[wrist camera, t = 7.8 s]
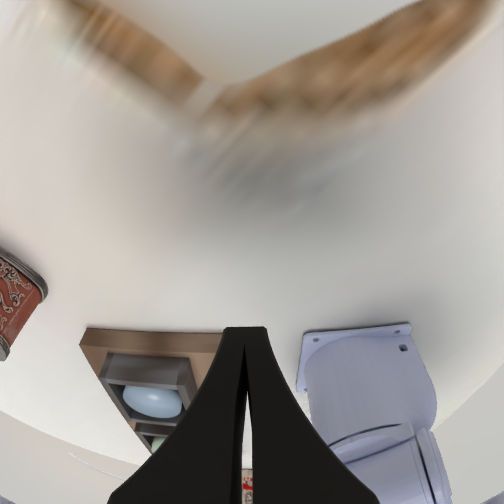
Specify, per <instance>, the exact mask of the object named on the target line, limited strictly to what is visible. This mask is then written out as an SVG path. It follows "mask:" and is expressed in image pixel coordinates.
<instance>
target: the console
mask: <svg viewBox="0 0 504 504" xmlns="http://www.w3.org/2000/svg"><path fill="white" fill-rule="evenodd" d="M222 335H223V333H163V332H138V331H120V330H105V329H92V328H87V329H86V331H85V333H84V335H83V337H82V339H81V341H80V343H79V346H80V348H81V349H82V351H83V353H84V355H85V357H86V358H87V360H88V362H89V364H90V365H91V367H92V369H93V371H94V372H95V374H96V376H97V377H98V379H99V380H100V382H101V384H102V385H103V387H104V389H105V390H106V392H107V393H108V395H109V396H110V398H111V399H112V401H113V402H114V404H115V405H116V407H117V408H118V410H119V411H120V413H121V414H122V416H123V417H124V418H125V420H126V421H127V423H128V424H129V425H130V427H131V428H132V429H133V431H134V432H135V434H136V435H137V436H138V437H139V439H140V440H141V441H142V443H143V444H144V445H145V447H146V448H147V449H148V450H149V452H150V453H151V454H153V453H152V451H151V448H152V443H153V437H154V436H158V437H167V436H168V435H169V434H170V432H171V431H172V430H173V429H174V427H175V426H176V425H177V423H178V422H179V420H180V419H181V417H182V416H183V414H184V413H185V411H186V410H187V408H188V407H189V405H190V403H191V402H192V400H193V398H194V397H195V395H196V393H197V391H198V389H199V388H200V386H201V384H202V382H203V380H204V378H205V376H206V374H207V372H208V370H209V368H210V366H211V364H212V362H213V359H214V357H215V354H216V352H217V349H218V347H219V344H220V341H221V338H222ZM126 385H128V386H137V387H147V388H159V389H173V390H178V392H179V394H180V397H181V400H182V407H181V412H180V413H179V414H178V415H177V416H174V417H170V418H157V417H151V416H148V415H145V414H142V413H140V412H138V411H136V410H134V409H133V408H131V407H130V406H129V405H128V404H127V403H126V402H125V401H124V399H123V393H124V390H125V386H126Z"/></svg>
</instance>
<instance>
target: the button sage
mask: <svg viewBox="0 0 504 504" xmlns="http://www.w3.org/2000/svg"><path fill="white" fill-rule="evenodd" d="M166 438H167V437H158V436H154V437H153V443H152V448H151V451H152V453H154V452H155V451H156V450H157V449H158V448H159V446H160V445H161V444H162V443H163V441H164V440H165V439H166Z"/></svg>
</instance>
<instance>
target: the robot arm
mask: <svg viewBox="0 0 504 504" xmlns="http://www.w3.org/2000/svg"><path fill="white" fill-rule="evenodd" d="M411 331H412V326H411V324H401V325H392V326H384V327H374V328H364V329H354V330H342V331H329V332H314V333H307V334H305V335H304V336H303V340H302V348H301V355H300V362H299V369H298V376H297V383H296V391H297V392H307V394H308V400H309V407H310V414H311V421H312V424H311V423H310V421H309V420H308V418H307V417H306V415H305V414H304V412H303V411H302V409H301V408H300V406H299V404H298V403H297V401H296V399H295V397H294V396H293V394H292V392H291V390H290V388H289V386H288V384H287V383H286V381H285V378H284V376H283V374H282V372H281V370H280V368H279V366H278V363H277V361H276V358H275V356H274V353H273V351H272V348H271V345H270V341H269V338H268V334H267V329H266V328H265V327H264V326H261V327H226V328H225V329H224V330H223V335H222V338H221V341H220V344H219V347H218V349H217V352H216V354H215V357H214V359H213V362H212V364H211V366H210V368H209V370H208V372H207V374H206V376H205V378H204V380H203V382H202V384H201V386H200V388H199V389H198V391H197V393H196V395H195V397H194V398H193V400H192V402H191V403H190V405H189V407H188V408H187V410H186V411H185V413H184V414H183V416H182V417H181V419H180V420H179V422H178V423H177V425H176V426H175V427H174V429H173V430H172V431H171V432H170V434H169V435H168V436H167V438H166V439H165V440H164V441H163V443H162V444H161V445H160V446H159V448H158V449H157V450H156V451H155V452H154V453H153V454H152V455H151V456H150V457H149V458H148V460H147V461H146V462H145V463H144V464H143V465H142V466H141V467H140V468H139V469H138V470H137V471H136V472H135V473H134V474H133V475H132V476H131V477H130V478H128V479H127V480H126V481H125V482H124V483H123V484H122V485H121V486H119V487H118V488H117V489H116V490H115V491H114V492H112V494H111V495H110V497H109V500H108V502H107V504H242V442H243V432H244V422H245V411H246V401H247V391H248V400H249V409H250V418H251V427H252V504H452V501H451V494H452V493H451V488H450V484H449V481H448V477H447V473H446V470H445V467H444V464H443V460H442V457H441V454H440V451H439V448H438V445H437V442H436V439H435V437H434V434H433V432H432V431H429V430H430V428H431V427H432V425H433V423H434V420H435V417H436V411H437V401H436V394H435V389H434V386H433V383H432V381H431V378H430V376H429V374H428V372H427V370H426V367H425V365H424V363H423V361H422V359H421V357H420V355H419V352H418V350H417V348H416V346H415V344H414V342H413V340H412V338H411V336H410V333H411ZM314 338H316V339H314ZM418 440H419V441H418ZM0 504H15V503H13V502H12V501H9V500H7V499H6V498H4V497H2V496H1V495H0ZM481 504H504V491H503V492H501V493H500V494H498V495H496V496H494V497H492V498H491V499H489V500H487V501H485V502H483V503H481Z"/></svg>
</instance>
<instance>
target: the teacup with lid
mask: <svg viewBox="0 0 504 504" xmlns="http://www.w3.org/2000/svg"><path fill="white" fill-rule="evenodd" d="M242 504H252V470H247V469H242Z"/></svg>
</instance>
